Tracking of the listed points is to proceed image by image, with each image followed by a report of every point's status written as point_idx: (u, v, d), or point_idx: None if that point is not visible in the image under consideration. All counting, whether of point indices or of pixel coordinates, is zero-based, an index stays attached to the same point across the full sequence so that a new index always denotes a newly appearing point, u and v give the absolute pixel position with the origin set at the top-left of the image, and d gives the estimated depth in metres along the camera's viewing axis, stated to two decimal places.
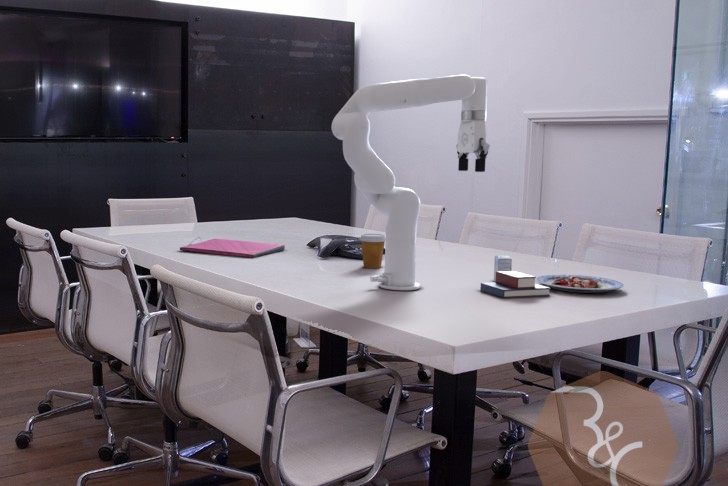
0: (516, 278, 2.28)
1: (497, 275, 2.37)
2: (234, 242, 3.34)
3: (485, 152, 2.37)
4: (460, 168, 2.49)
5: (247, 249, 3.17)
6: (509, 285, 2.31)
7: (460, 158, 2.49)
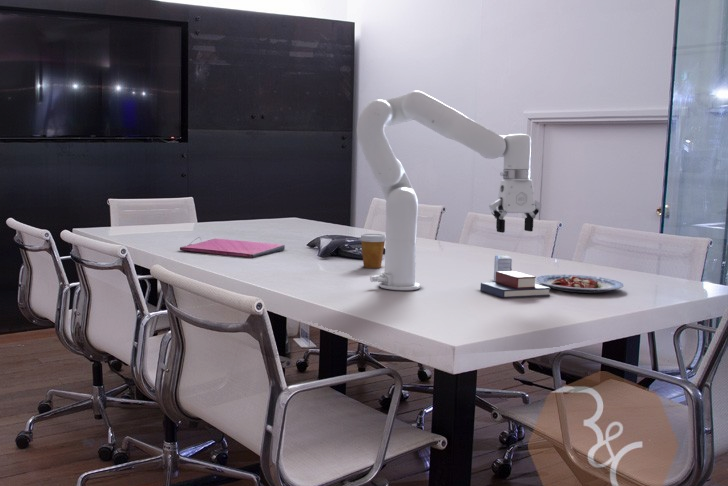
0: (516, 278, 2.28)
1: (497, 275, 2.37)
2: (234, 242, 3.34)
3: None
4: None
5: (247, 249, 3.17)
6: (509, 285, 2.31)
7: (503, 219, 2.30)
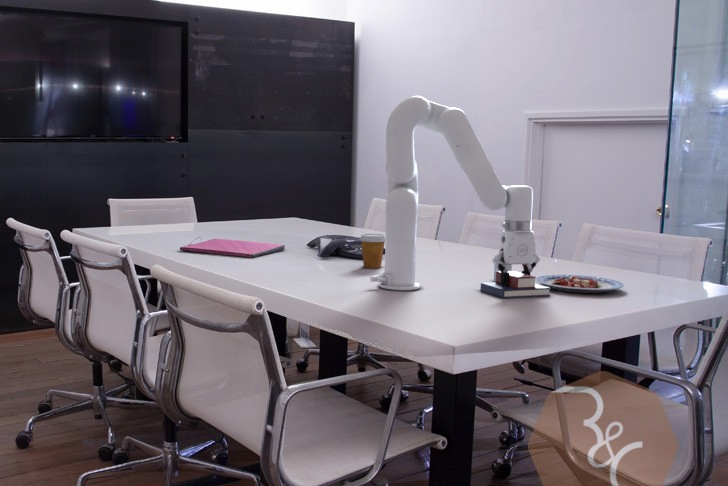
0: (516, 278, 2.28)
1: (497, 275, 2.37)
2: (234, 242, 3.34)
3: None
4: None
5: (247, 249, 3.17)
6: (509, 285, 2.31)
7: None
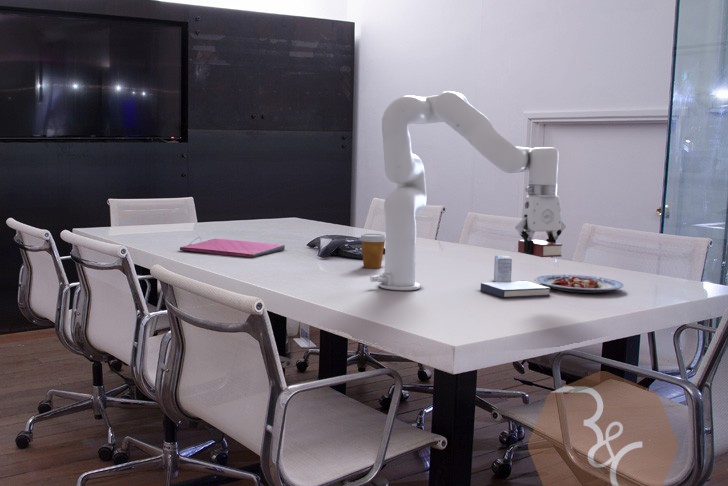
0: (541, 246, 2.13)
1: (520, 244, 2.23)
2: (234, 242, 3.34)
3: None
4: None
5: (247, 249, 3.17)
6: (533, 254, 2.17)
7: None
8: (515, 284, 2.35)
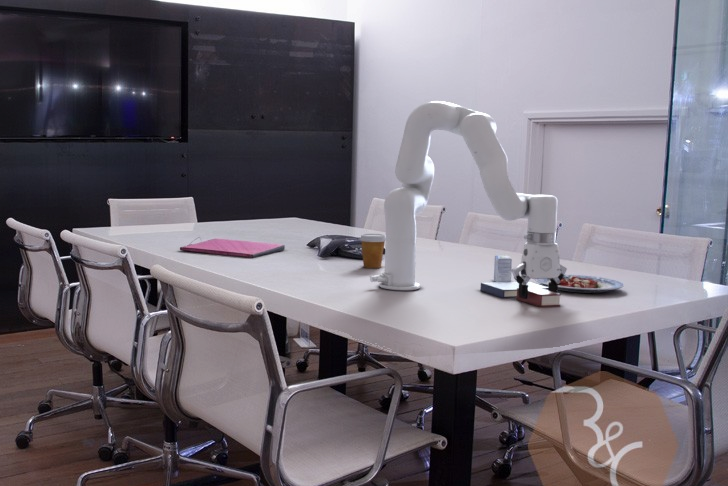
0: (540, 295, 2.14)
1: None
2: (234, 242, 3.34)
3: None
4: None
5: (247, 249, 3.17)
6: (532, 303, 2.18)
7: (526, 285, 2.17)
8: (515, 284, 2.35)
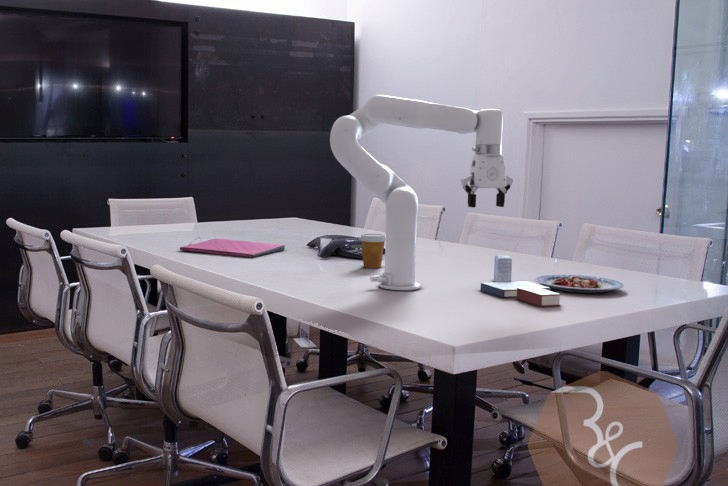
0: (540, 295, 2.14)
1: (518, 292, 2.24)
2: (234, 242, 3.34)
3: None
4: None
5: (247, 249, 3.17)
6: (532, 303, 2.18)
7: (474, 194, 2.31)
8: (515, 284, 2.35)
